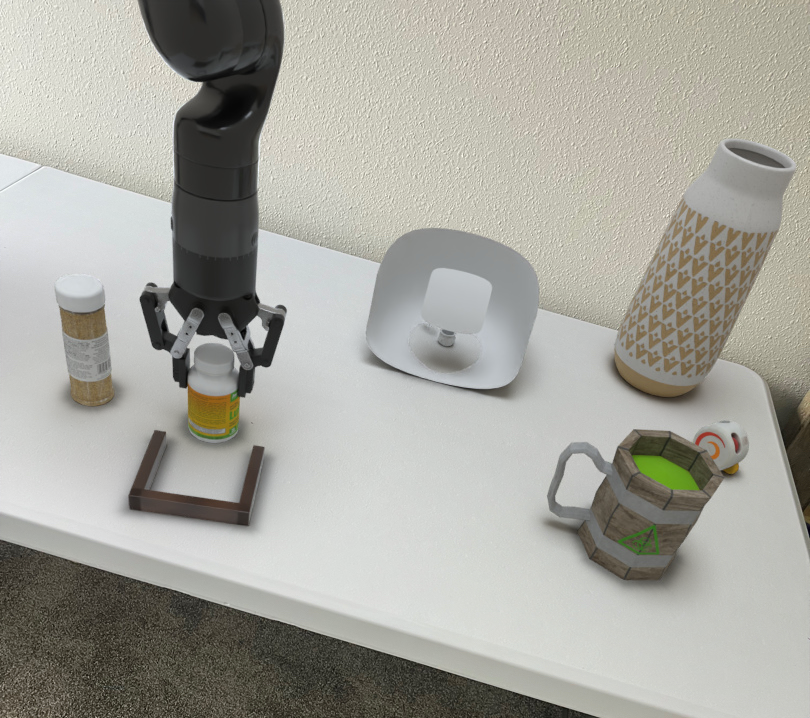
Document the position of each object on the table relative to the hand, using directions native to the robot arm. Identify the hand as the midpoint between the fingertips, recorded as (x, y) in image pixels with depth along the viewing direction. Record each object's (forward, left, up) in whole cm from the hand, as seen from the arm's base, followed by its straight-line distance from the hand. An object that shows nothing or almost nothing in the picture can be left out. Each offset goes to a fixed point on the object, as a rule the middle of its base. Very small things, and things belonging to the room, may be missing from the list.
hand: (213, 387), depth 82 cm
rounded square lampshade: (+26, +26, -6) cm, 37 cm away
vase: (+56, +27, -6) cm, 63 cm away
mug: (+43, -8, -6) cm, 45 cm away
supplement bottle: (0, 0, -6) cm, 6 cm away
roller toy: (+60, +9, -6) cm, 61 cm away
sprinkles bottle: (-14, +3, -6) cm, 15 cm away
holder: (0, -8, -5) cm, 10 cm away
